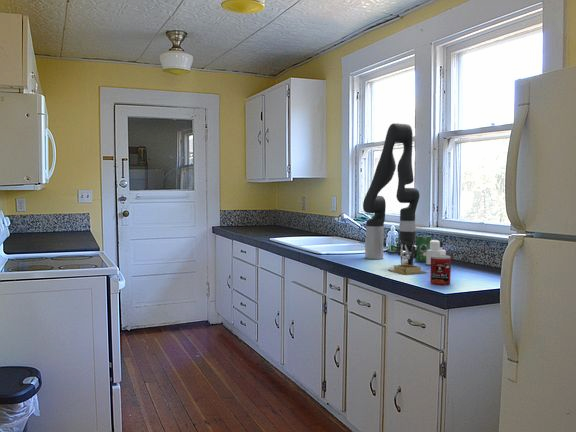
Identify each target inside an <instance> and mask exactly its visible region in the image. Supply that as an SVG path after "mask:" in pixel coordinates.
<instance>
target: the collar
mask: <svg viewBox="0 0 576 432" xmlns="http://www.w3.org/2000/svg"><path fill="white" fill-rule="evenodd" d="M393 267H394V268H389V269H388V272H392V273H396V274H398V275H404V276H407V275H420V274H427V273H428V272H427V271H424V270H422V267H421V266H418V265H414V264H413V265H409V264H405V265H401V264H396V265H393Z"/></svg>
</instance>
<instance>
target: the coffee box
mask: <svg viewBox="0 0 576 432" xmlns="http://www.w3.org/2000/svg"><path fill="white" fill-rule="evenodd" d="M431 240H432V236H431V235H422V236H421V235H420V236H419V235H417V236H416V235H415V246H418V251H417V257H416V258H414V260H415V263H423V262H425V263H426V251H427V250H430V241H431Z"/></svg>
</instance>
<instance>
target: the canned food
mask: <svg viewBox="0 0 576 432" xmlns="http://www.w3.org/2000/svg"><path fill="white" fill-rule="evenodd" d="M451 263H452V257H451V255H432V256H431V265H430V279H429V280H430V284H431V285H434V286H448V285H450V284H451V271H452V267H451V266H452V264H451Z"/></svg>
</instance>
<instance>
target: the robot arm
mask: <svg viewBox="0 0 576 432" xmlns="http://www.w3.org/2000/svg"><path fill="white" fill-rule="evenodd" d="M413 136H414V135H413V129H412V126H411V125H410V124H406V123H394V122H393V123H391V124H389V126H388V127H387V131H386V135H385V139H384V143H383V149H382V151H381V154H380V157H379V160H378V162H377V165H376V168H375V172H374V174H373V178H372V181H371V184H370V185H369V188H368V190H367V192H366V194H365V196H364V198H363V202H362V209H363V211H364V213H366V214H374V215H373V216H372V217H371V218H369V219H367V220H366V223H365V242H364V243H365V244H364V249H365V250H364V258H365V259H369V260H383V259H384V238H385V237H384V236H385V234H384V231H385V230H384V229H385V226H384V225H385V224H384V223H385V220H386V208H387V207H386V205H387V204H386V199H385V197H384V196H383V195H378V194H379V193H380V192H381V191H382V189H384V188H385V187H386V186H387V185H388V184H389V183H390V182H391V181H392V179H393V177H394V175H395V171H397V179H398V181H397V183H398V184H397V189H396V195H395V196H396V200H397V201H398V202H399V203H401V204H408V206H407V207H406V206H405V207H402V208H400V211H399V224H398V225H399V226H398V228H399V229H398V230H399V231H398V233H399V235H398V238H399V239H398V240H399V241H400V242H398V243H397V242H396V249H397V250H396V251H397V255H398V256H399V257H400V265H402V255H408V258H409V259H408V264H409V265H414V260H415V258H416V257H417V251H418V246H416V244H415V243H414V242H415V241H416V229H417V227H416V226H417V225H416V211H417V208H418V203H419V200H420V197H421V196H420V191H419V190H418V189H417V188H415V187H405V186H406V185H410V184H412V183H413V182H414V181H415V180H414V179H415V178H414V170H413V158H412V157H413V138H414V137H413ZM395 144H403V151H402V155H401V156H400V159H399V160H398V163H397V164H396V160H395V157H394V156H395V155H394V152H393V151H394V147H395ZM396 168H397V169H396Z"/></svg>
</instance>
